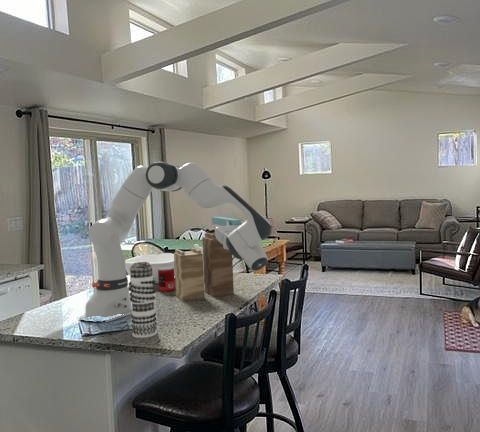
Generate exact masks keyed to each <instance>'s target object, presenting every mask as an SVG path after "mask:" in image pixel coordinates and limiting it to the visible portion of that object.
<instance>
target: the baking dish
mask: <svg viewBox="0 0 480 432" xmlns="http://www.w3.org/2000/svg"><path fill="white" fill-rule="evenodd" d="M125 262H126V273H127V274H128V275H129V277H130V276H131V274H130V269H129V268H131V266H132V265H133V264H134V263H138V262H148V263H150V265H151V266H153V267H152V275H153V278H154V279H153V280H154V281H155V283H154V284H158V285H159V280H158V268H160V267H167V266H170V267H174V253H172V252H162V253H158V254H151V253H150V254H141V255H137V256H134V257H130V258H127V259H125ZM174 277H175V267H174Z"/></svg>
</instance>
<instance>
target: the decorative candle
mask: <svg viewBox="0 0 480 432" xmlns="http://www.w3.org/2000/svg"><path fill="white" fill-rule="evenodd" d="M152 267H153V266H151V265H150V263H148V262H138V263H134V264H133V265H132V266H131V268H129V269H130V274H131V276H129V278H130V279H129V280H130V281H128V291H129V293H130V301H131V304H132V314H130V315H131V316H130V318H131V323H132V324H131V328H132V329H131V332H132V334H131V335H132V336H133V337H134V338H138V339H139V338H141V339H142V338H143V339H144V338H149V337H154V336H156V335H157V332H158V331H157V330H158V329H157V325H158V324H157V321H156V320H157V317H156V316H157V313H156V310H155V301H156V296H154V294H156V291H155V289H156V286H155V285H154V284H155V281H154V280H153V279H154V278H153V275H152Z"/></svg>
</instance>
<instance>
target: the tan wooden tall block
mask: <svg viewBox="0 0 480 432" xmlns="http://www.w3.org/2000/svg"><path fill="white" fill-rule="evenodd" d="M173 254H174V267H175V276H174V279H175V296H176V297H177V298H178V299H180V300H181V301H183V302H184V301H185V302H186V301H193V300H199V299H205V298H206V297H205V284H204V273H203V254H202V253H201V251H200V250H198V249H197V248H195V247H190V250H188V251H183V250H180V249H178V248H175V250H174V252H173Z"/></svg>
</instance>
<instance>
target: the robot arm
mask: <svg viewBox="0 0 480 432" xmlns="http://www.w3.org/2000/svg"><path fill="white" fill-rule="evenodd" d="M154 189H156V190H160V191H161V192H162V191H163V192H177V191H180V190H182V189H183V190H184V192H185V193H186V194H187V196H188V197H189V198H190V199H191V201H192V202H193V203H194V204H195V205H196V206H197V207H199V208H201V209H210V208H211V209H212V208H215V207H217V206H221V205H225V204H232V205H234V206H235V207H236V208H237V209H238V210H239V211H241V212H242V214H244V215H245V216H246V217H247V219H246V220H245V221H242V220H241V225H231V226H230V224H231V222H230V221H226V225H227V226H222V225H218V226H216V227H215V229H214V235H215V236H216V238H217V240H218V241H219V242H220V243H221V244H223V248H224V249H228V250H230V252H231V254H232V257H233V258H235V259H238V260H241V261H244V263H245V264H246V266H248V268H249V269H250V270H251V271H254V272H256V271H260V270H262V269H263V268H264V267H265V266H267V265H268V264H267V263H268V261H269V259H268V256H267V254H266V251H265V249H264V247H262V245H261V244H260V243H261V242H262V241H264V240H265V239H267V238H269V237H271V234H272V229H273V226H272V224H271V221H269V219H268V218H267V217H266V216H264V215H263V214H261V213H260V212H258V211H257V210H256V209H254V207H252V205H250V204H249V203H248V202H247V201H246V200H245V199H243V198H242V197H241V196H240V195H239V194H238V193H237V192H235V191H234V189H232V188H230V187H229V186H227V185H225V184H224V185H220V184H217V182H215V181H214V180H213V179H212V178H211V177H210V175H209V174H208V173H207V172H206V171H205V170H204V169H203V168H202V167H201V166H199V164H197V163H196V162H187V163H185V164H183V165H182V166H181V167H180V166H179V165H175V164H173V163H170V162H165V161H156V162H152V163H151V164H150V165H149V166H146V165H138V166H136V167H135V168H134V169H133V170H132V171H131V172H130V174H129V175H128V176H127V177H126V179H125V180H124V182H123V183H122V185H121V186H120V188H119V189H118V192H117V193H116V194H115V196H114V197H113V199H112V202H111V205H110V206H111V207H110V209H109V212H108V214H107V216H106V217H105V218H102V219H98V220H96V221H95V222H94V223H93V224H92V225H91V226H90V227H89V229H88V233H87V234H88V238H89V241H90V242H91V243H92V247H93V249H94V252H95V257H96V262H97V273H98V276H97V277H98V279H97V281H96V282H92V283H91V287H92V288H95V289H96V290H95V291H94V292H93V293H92V295H91V296H90V298H89V299H88V300H87V301H86V303H85V309H84V310H85V313H84V314H83V315H81V316H80V317H79V321H81V317H92V316H101V317H107V316H113V315H117V314H122V315H121V316H118V317H115V318H112V319H109V320H104V321H105V322H104V323H109V322H112V321H114V320H118V319H120V318H124V317H127V316H130V315H132V303H131V301H130V297H131V296H130V293H131V292H130V290H129V280H128V276H127V270H126V262H125V260H126V256H124V254H123V251H122V246H121V242H123V241H124V240H125V239H126V237H127V236H128V235H129V232H130V230H131V228H132V226H133V224H134V221H135V219H136V218H137V215H138V214H139V212H140V210H141V208H142V206H143V205H144V203H145V202H146V201H147V199H148V197H149V196H150V194H151V193H152V191H153V190H154ZM123 314H124V315H123ZM82 319H83V318H82Z"/></svg>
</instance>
